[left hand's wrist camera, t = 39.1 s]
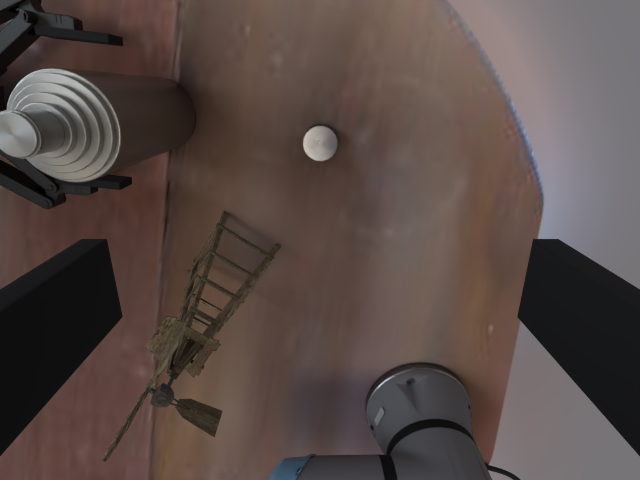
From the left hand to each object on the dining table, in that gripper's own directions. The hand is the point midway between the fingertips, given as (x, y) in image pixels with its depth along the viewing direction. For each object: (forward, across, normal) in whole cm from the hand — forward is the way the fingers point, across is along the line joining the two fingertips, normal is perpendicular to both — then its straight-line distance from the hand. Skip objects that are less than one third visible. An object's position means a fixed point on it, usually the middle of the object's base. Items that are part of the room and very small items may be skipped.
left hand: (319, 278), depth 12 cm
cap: (+34, 0, 0) cm, 34 cm away
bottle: (+36, +18, -3) cm, 40 cm away
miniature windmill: (+36, +11, +14) cm, 40 cm away
